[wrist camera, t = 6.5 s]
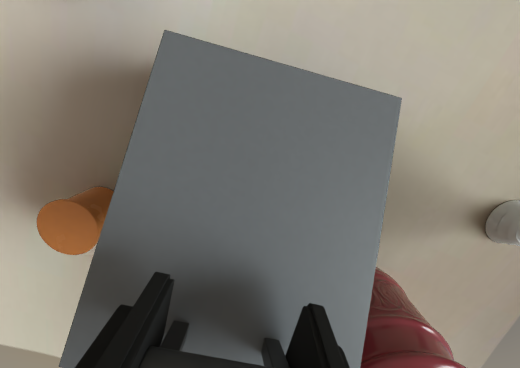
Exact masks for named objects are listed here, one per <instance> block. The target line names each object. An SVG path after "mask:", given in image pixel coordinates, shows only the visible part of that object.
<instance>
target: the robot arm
mask: <svg viewBox="0 0 520 368" xmlns="http://www.w3.org/2000/svg"><path fill="white" fill-rule="evenodd" d="M173 286H174V279H170V274H165V273H161V272H155V273H154V274H153V276H152V277H151V279H150V281H149V282H148V284H147V285H146V287H145V288H144V290H143V292H142V293H141V295H140V296H139V298H138V299H137V301H136V303H135V304H134V306H128V305H123V304H121V305H120V306H119V307H118V308H117V309H116V310H115V312H114V313H113V315H112V316H111V318H110V319H109V320H108V322H107V323H106V325H105V326H104V327H103V329H102V330H101V332H100V333H99V334H98V336H97V337H96V339H95V340H94V341H93V343H92V344H91V346H90V347H89V348H88V350H87V351H86V353H85V354H84V355H83V357H82V358H81V360H80V361H79V362H78V364H77V365H76V367H75V368H139V365H140V363H141V361H142V359H143V357H144V355H145V353H146V351H147V350H148V348H149V347H150V346H155V347H160V345H161V342H162V339H163V336H164V332H165V327H166V321H167V316H168V311H169V306H170V301H171V296H172V291H173ZM285 357H286V359H287V362H288V364H289V367H290V368H350V367H349V364H348V361H347V359H346V356H345V353H344V351H343V349H342V348H341V347H340V346H338V344H337V341H336V339H335V336H334V333H333V330H332V328H331V325H330V322H329V319H328V316H327V314H326V311H325V308H324V307H323V306H322V305H317V304H312V303H309V304H308V305H307V306H303V308H302V311H301V314H300V316H299V319H298V322H297V325H296V327H295V330H294V333H293V336H292V338H291V341H290V344H289V347H288V350H287V352H286V355H285Z"/></svg>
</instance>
